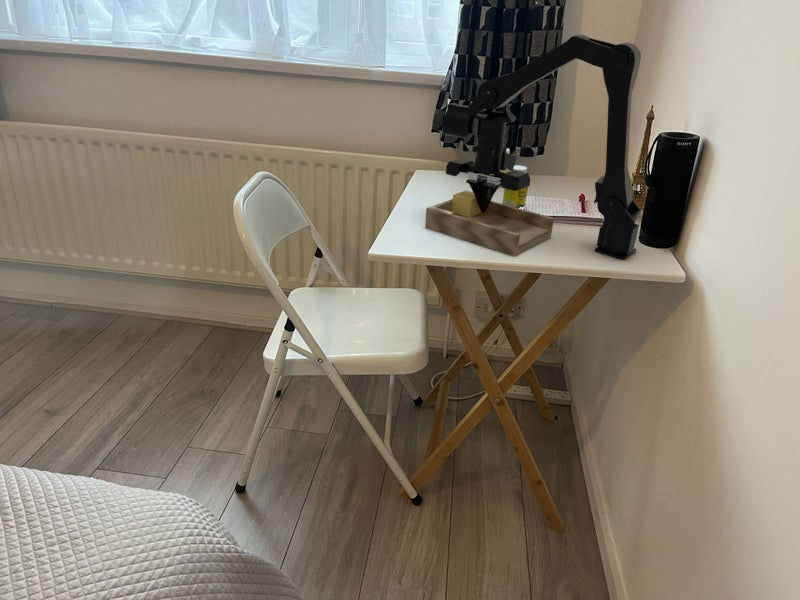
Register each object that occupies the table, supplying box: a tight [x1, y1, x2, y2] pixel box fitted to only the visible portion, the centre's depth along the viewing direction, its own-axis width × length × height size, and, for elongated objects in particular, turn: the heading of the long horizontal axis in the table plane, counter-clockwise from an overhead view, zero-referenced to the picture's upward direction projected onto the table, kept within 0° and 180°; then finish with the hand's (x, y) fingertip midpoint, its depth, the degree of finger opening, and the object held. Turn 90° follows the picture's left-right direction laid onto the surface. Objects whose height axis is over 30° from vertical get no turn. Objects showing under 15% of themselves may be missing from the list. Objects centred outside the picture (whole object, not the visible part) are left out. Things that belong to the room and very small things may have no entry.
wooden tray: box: [424, 198, 555, 257], centre depth 132 cm, size 23×15×5 cm, turn 49°
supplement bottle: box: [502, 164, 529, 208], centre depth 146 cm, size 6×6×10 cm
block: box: [452, 190, 481, 217], centre depth 138 cm, size 5×5×4 cm
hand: (483, 211), depth 136 cm, fingers closed
